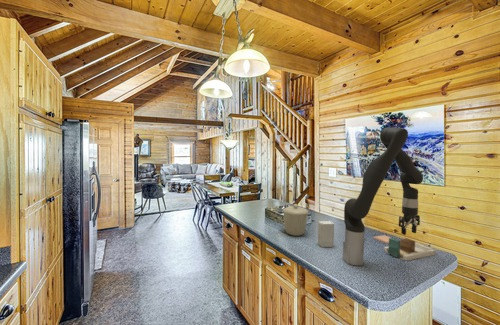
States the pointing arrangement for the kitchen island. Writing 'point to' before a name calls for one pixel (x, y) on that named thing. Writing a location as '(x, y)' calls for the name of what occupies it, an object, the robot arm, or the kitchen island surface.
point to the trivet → (382, 239)
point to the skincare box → (326, 233)
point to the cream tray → (421, 252)
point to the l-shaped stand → (396, 248)
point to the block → (407, 245)
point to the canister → (295, 220)
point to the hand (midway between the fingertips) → (408, 233)
